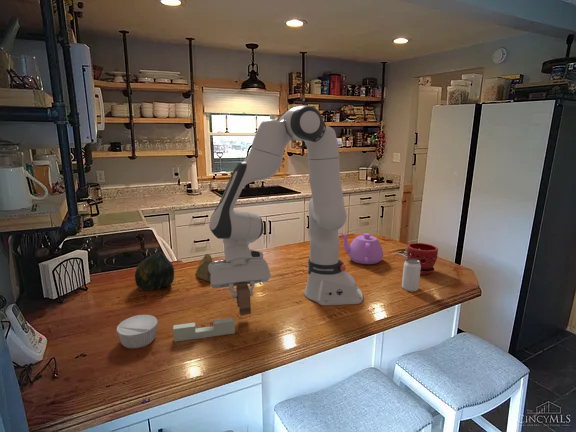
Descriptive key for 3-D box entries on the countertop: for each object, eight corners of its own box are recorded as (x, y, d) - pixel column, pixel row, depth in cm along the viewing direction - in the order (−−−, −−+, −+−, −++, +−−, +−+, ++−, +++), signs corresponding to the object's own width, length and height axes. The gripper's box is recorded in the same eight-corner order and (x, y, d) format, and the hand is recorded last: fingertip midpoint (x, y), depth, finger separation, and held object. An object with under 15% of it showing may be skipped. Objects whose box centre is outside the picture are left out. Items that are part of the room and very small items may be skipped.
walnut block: (237, 305, 117) (236, 283, 115) (247, 303, 118) (246, 282, 116) (240, 315, 110) (239, 292, 109) (250, 313, 111) (250, 291, 109)
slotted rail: (233, 329, 109) (233, 317, 108) (234, 333, 107) (234, 321, 106) (174, 337, 104) (173, 325, 104) (174, 341, 102) (173, 329, 101)
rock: (220, 276, 143) (220, 265, 152) (207, 263, 140) (207, 252, 149) (200, 291, 144) (200, 279, 153) (186, 278, 140) (187, 266, 149)
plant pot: (441, 272, 158) (444, 247, 155) (423, 278, 151) (426, 252, 148) (416, 263, 169) (419, 240, 166) (399, 268, 161) (401, 244, 159)
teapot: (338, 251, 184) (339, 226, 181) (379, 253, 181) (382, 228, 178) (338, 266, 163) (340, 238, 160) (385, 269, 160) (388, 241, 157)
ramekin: (117, 355, 96) (115, 338, 95) (118, 334, 106) (117, 318, 105) (159, 346, 101) (158, 329, 99) (157, 326, 110) (156, 311, 109)
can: (420, 288, 141) (424, 260, 138) (414, 293, 137) (417, 265, 134) (405, 283, 146) (408, 256, 143) (398, 288, 141) (401, 260, 138)
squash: (121, 275, 135) (138, 252, 129) (151, 264, 148) (168, 243, 142) (142, 304, 133) (160, 281, 126) (171, 290, 146) (188, 269, 140)
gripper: (207, 258, 115) (211, 297, 108) (267, 251, 120) (274, 289, 113) (207, 265, 120) (211, 304, 113) (264, 259, 126) (271, 295, 119)
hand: (243, 296), depth 113 cm, fingers closed on walnut block, 3 cm apart
